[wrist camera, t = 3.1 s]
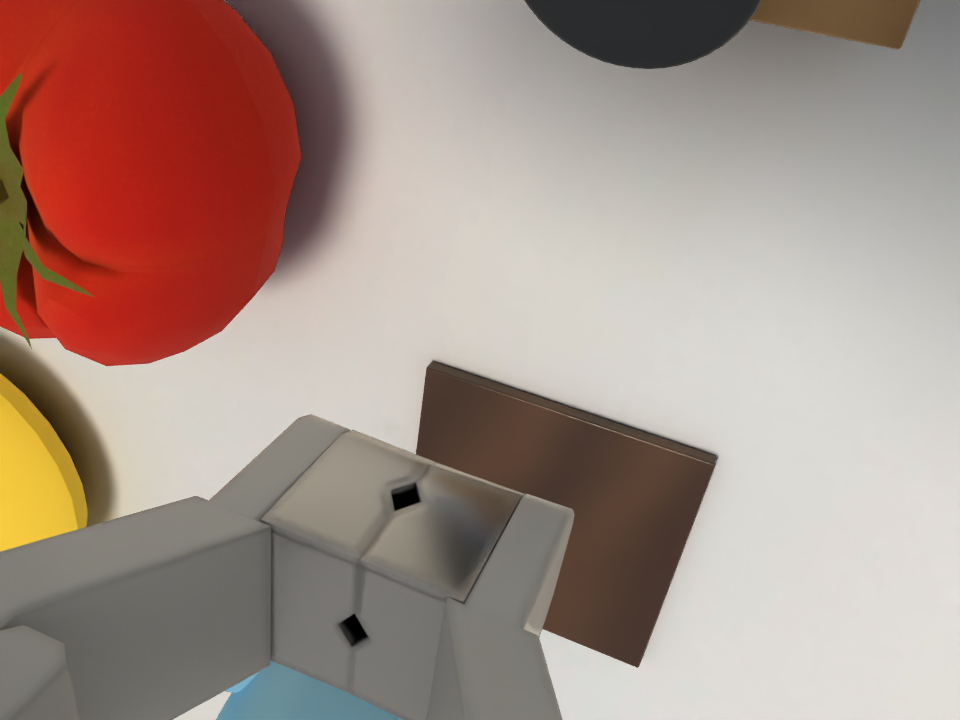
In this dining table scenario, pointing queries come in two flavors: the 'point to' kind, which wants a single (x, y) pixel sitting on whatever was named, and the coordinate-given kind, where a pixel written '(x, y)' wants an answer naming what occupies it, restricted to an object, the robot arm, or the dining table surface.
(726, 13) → the bottle
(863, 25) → the prop block
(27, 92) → the tomato
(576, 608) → the coaster
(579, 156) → the dining table surface
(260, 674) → the teapot
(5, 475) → the vase
